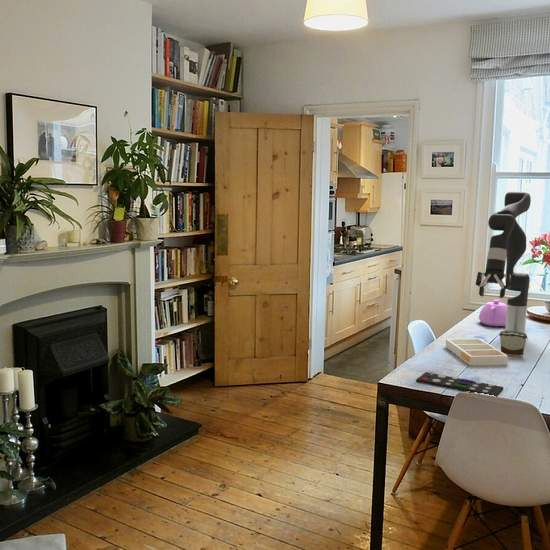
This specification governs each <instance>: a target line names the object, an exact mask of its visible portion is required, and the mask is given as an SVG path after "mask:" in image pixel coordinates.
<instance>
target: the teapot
mask: <svg viewBox="0 0 550 550" xmlns="http://www.w3.org/2000/svg"><path fill="white" fill-rule="evenodd" d="M506 314H507V304H506V303H505V302H504V303H503V302H501V301H500V299H493V300H492V301H489V302H486V303H485V304H484V305H483V306H482V308H481V309H480V312H479V314H478V320H479V321H480V323H481V324H483V325H485V326H491V327H492V326H493V327H498V326H502V327H505V324H506Z"/></svg>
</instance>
